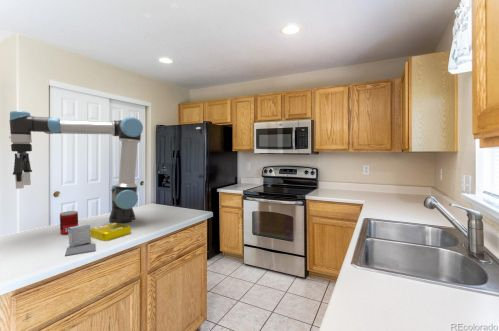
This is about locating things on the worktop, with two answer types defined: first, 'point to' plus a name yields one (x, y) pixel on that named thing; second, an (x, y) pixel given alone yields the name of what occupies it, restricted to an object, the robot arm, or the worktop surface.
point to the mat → (80, 249)
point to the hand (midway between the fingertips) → (23, 186)
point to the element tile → (110, 231)
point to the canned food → (68, 221)
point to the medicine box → (79, 235)
